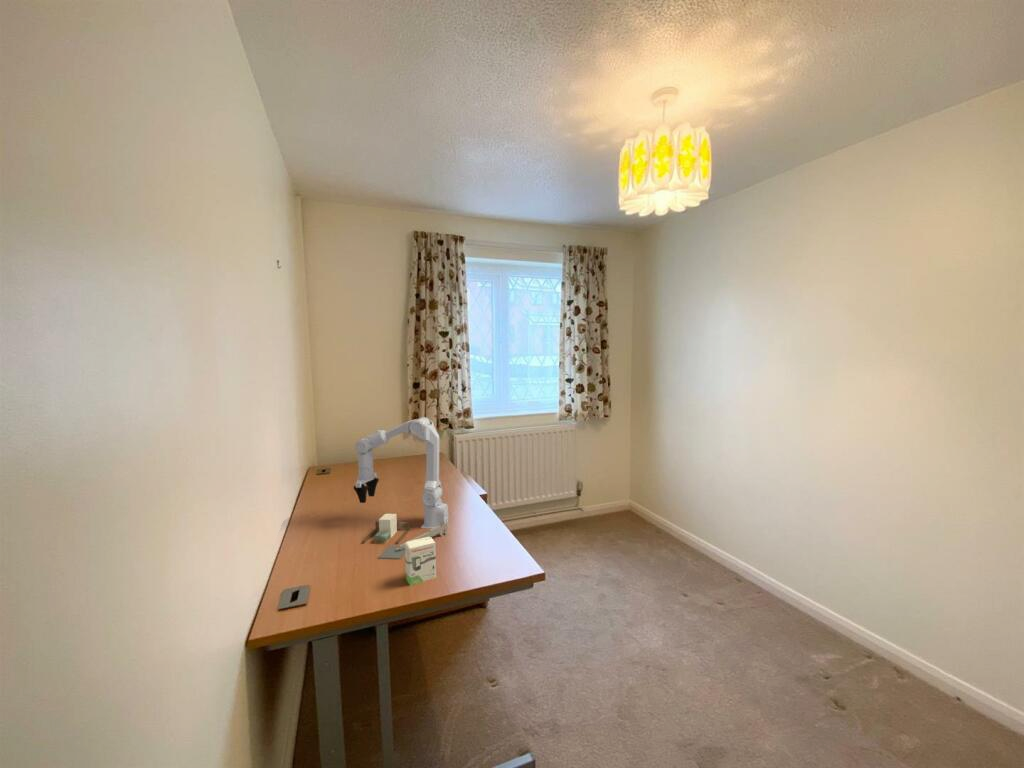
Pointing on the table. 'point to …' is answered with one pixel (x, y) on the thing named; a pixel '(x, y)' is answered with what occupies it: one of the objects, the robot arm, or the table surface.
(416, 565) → the ink box
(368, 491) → the robot arm
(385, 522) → the cream tapered prism
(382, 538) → the block
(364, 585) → the table surface
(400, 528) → the frame
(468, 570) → the table surface
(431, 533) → the caliper
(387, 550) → the mat
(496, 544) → the table surface
